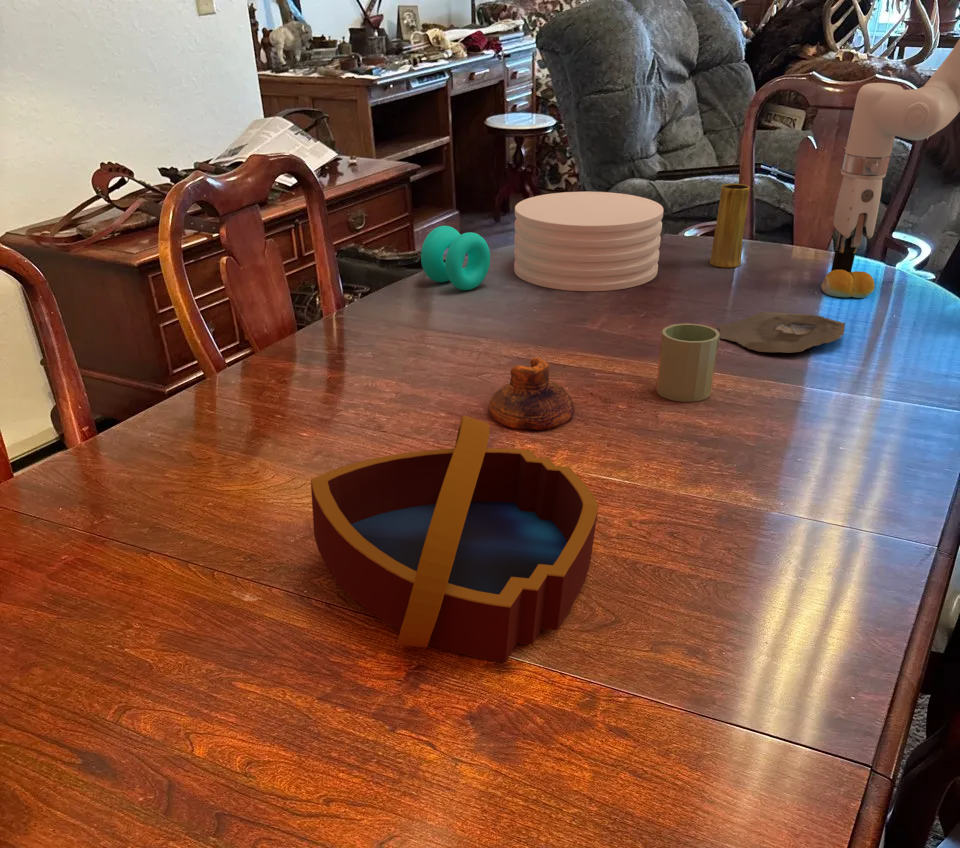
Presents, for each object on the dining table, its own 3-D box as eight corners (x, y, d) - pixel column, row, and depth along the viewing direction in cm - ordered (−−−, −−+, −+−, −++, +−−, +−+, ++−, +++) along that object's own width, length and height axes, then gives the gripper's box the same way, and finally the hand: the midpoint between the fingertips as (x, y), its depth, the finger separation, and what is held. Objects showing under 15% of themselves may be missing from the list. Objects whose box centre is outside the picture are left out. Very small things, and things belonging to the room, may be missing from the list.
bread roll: (877, 299, 170) (882, 276, 168) (826, 298, 171) (830, 276, 169) (866, 286, 177) (871, 263, 175) (817, 285, 178) (821, 263, 175)
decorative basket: (564, 702, 85) (601, 561, 76) (252, 632, 87) (252, 486, 78) (593, 522, 112) (623, 403, 103) (355, 471, 114) (364, 349, 105)
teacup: (706, 381, 140) (714, 323, 135) (715, 402, 134) (724, 342, 129) (653, 381, 140) (658, 323, 135) (659, 402, 134) (666, 342, 129)
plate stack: (486, 276, 184) (486, 212, 178) (560, 244, 203) (563, 185, 196) (614, 300, 171) (619, 233, 165) (681, 264, 190) (688, 202, 183)
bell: (512, 438, 125) (513, 384, 121) (475, 405, 134) (474, 354, 129) (590, 422, 129) (593, 370, 124) (549, 391, 137) (551, 341, 133)
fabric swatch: (699, 338, 159) (699, 329, 158) (799, 307, 166) (800, 298, 165) (777, 368, 145) (778, 358, 144) (883, 333, 153) (884, 323, 152)
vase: (733, 270, 186) (745, 191, 178) (704, 265, 189) (714, 187, 181) (745, 262, 190) (756, 185, 182) (716, 258, 193) (726, 181, 185)
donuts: (458, 274, 185) (457, 220, 179) (493, 285, 179) (493, 229, 173) (418, 285, 180) (416, 229, 174) (453, 296, 174) (452, 239, 168)
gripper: (900, 175, 160) (872, 286, 171) (873, 157, 172) (849, 262, 183) (855, 174, 160) (830, 286, 171) (832, 156, 172) (810, 262, 183)
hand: (840, 273), depth 177 cm, fingers closed
